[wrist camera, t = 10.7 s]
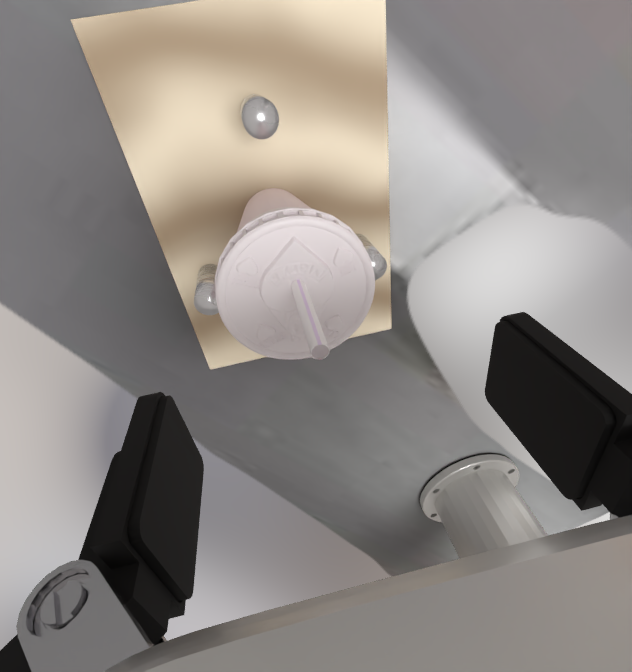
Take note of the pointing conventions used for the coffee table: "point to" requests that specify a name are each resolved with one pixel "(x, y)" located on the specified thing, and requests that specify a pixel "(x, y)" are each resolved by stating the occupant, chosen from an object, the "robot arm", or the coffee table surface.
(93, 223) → the coffee table surface
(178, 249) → the pin board
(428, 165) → the coffee table surface
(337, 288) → the smoothie
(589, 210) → the coffee table surface
